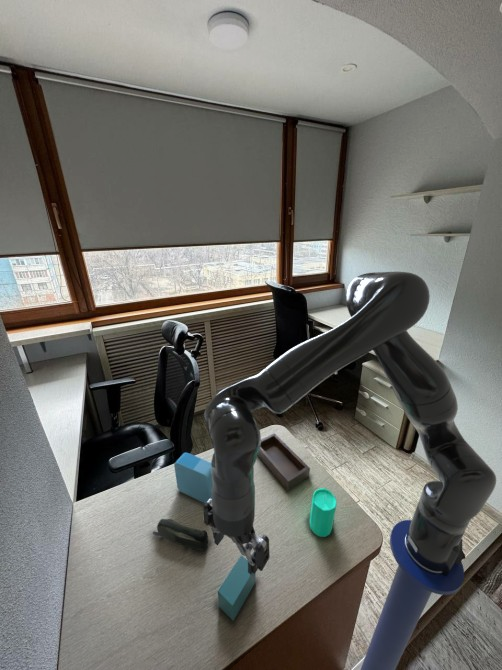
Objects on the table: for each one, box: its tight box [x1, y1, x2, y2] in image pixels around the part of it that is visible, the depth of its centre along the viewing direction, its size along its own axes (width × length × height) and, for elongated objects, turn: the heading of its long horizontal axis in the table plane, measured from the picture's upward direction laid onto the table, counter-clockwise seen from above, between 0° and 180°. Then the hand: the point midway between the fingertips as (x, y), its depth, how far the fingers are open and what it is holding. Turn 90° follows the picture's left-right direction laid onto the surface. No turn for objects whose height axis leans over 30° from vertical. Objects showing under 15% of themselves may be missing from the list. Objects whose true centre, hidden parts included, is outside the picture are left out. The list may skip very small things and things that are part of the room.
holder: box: [257, 432, 311, 491], centre depth 91 cm, size 18×9×4 cm, turn 33°
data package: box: [173, 452, 212, 504], centre depth 79 cm, size 12×4×12 cm, turn 65°
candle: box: [309, 487, 337, 538], centre depth 71 cm, size 6×6×12 cm
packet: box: [217, 554, 256, 622], centre depth 58 cm, size 4×8×6 cm, turn 144°
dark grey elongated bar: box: [152, 518, 209, 551], centre depth 69 cm, size 5×3×15 cm
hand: (235, 554), depth 53 cm, fingers open, 8 cm apart
